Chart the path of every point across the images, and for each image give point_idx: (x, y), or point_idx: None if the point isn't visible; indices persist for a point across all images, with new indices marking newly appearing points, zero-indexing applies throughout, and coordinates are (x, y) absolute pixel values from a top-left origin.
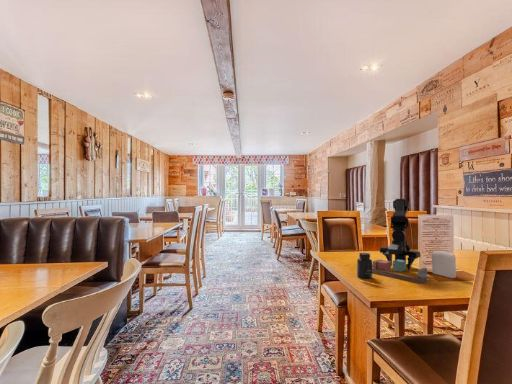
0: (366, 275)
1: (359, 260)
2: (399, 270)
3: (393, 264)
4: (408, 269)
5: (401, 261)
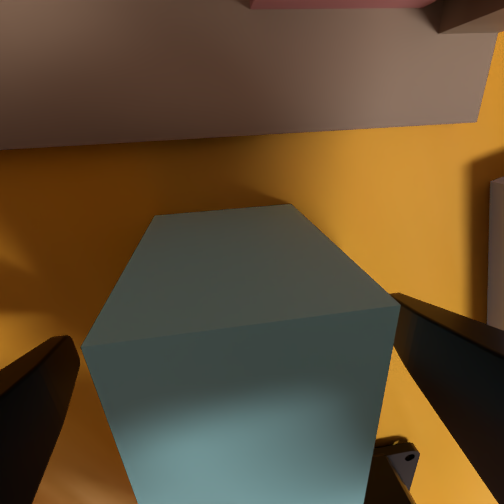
0: None
1: None
2: (171, 225)
3: (327, 253)
4: (42, 344)
5: (179, 471)
